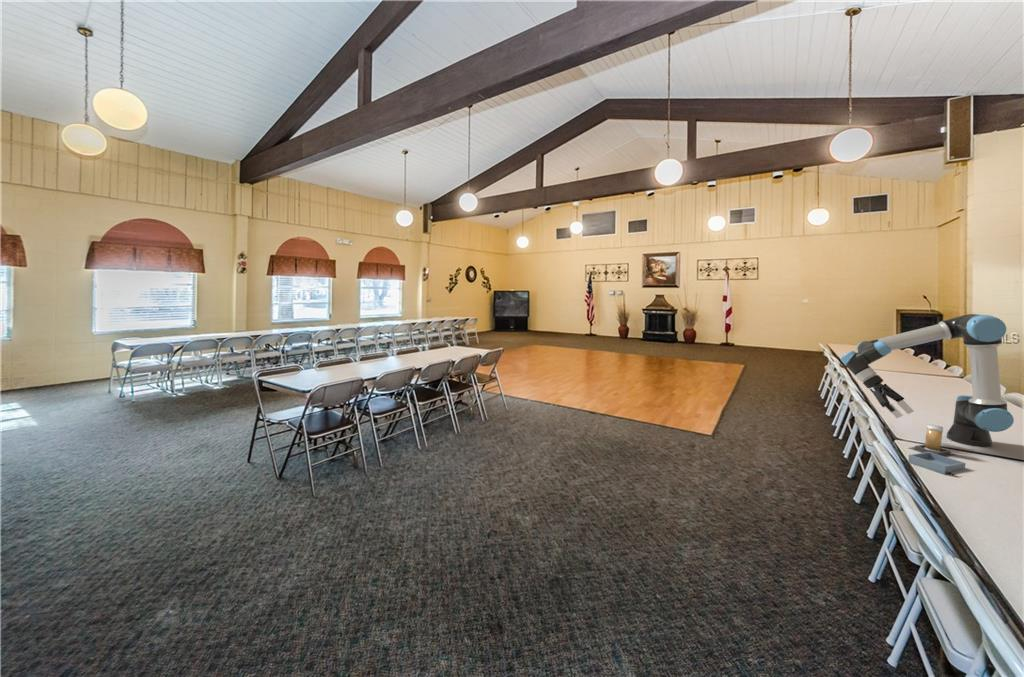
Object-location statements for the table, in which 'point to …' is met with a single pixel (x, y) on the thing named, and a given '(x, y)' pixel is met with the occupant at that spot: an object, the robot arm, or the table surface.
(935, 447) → the ball
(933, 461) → the parts tray
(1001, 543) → the table surface
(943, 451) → the block
